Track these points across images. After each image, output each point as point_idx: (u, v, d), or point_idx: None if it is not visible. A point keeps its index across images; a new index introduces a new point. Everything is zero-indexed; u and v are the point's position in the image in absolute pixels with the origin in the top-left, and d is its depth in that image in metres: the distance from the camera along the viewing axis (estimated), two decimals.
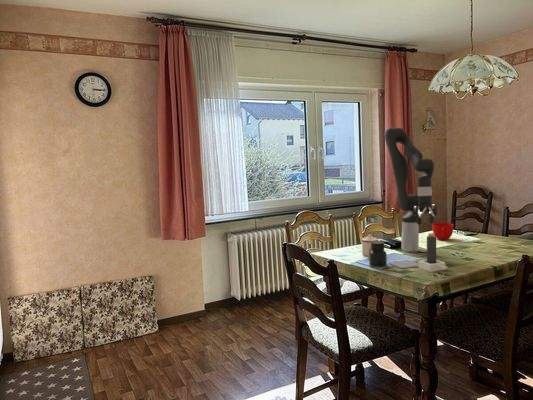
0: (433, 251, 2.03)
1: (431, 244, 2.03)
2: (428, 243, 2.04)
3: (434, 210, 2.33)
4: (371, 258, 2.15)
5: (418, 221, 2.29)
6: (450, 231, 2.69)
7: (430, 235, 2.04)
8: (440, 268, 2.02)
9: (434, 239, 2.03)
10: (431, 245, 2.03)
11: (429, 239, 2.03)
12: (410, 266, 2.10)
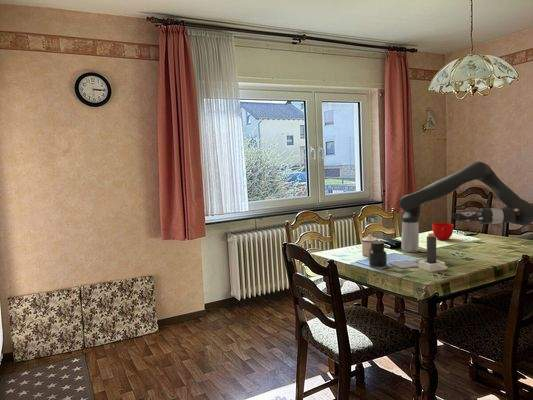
0: (433, 251, 2.03)
1: (431, 244, 2.03)
2: (428, 243, 2.04)
3: None
4: (371, 258, 2.15)
5: (462, 219, 1.97)
6: (450, 231, 2.69)
7: (430, 235, 2.04)
8: (440, 268, 2.02)
9: (434, 239, 2.03)
10: (431, 245, 2.03)
11: (429, 239, 2.03)
12: (410, 266, 2.10)
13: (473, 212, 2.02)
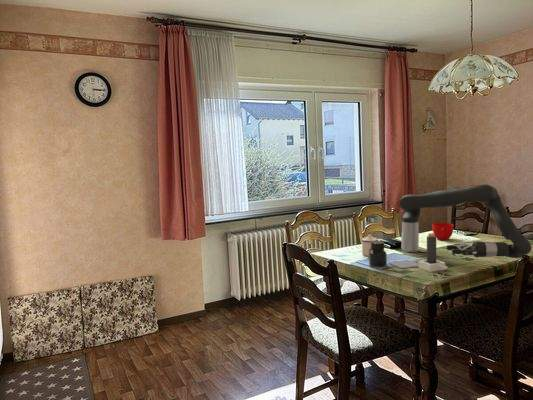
0: (433, 251, 2.03)
1: (431, 244, 2.03)
2: (428, 243, 2.04)
3: None
4: (371, 258, 2.15)
5: (456, 253, 1.99)
6: (450, 231, 2.69)
7: (430, 235, 2.04)
8: (440, 268, 2.02)
9: (434, 239, 2.03)
10: (431, 245, 2.03)
11: (429, 239, 2.03)
12: (410, 266, 2.10)
13: (467, 245, 2.04)
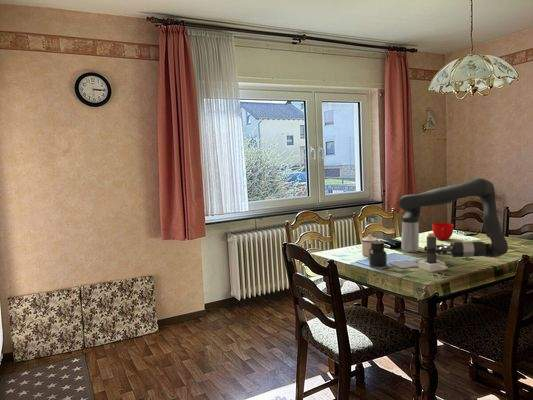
0: None
1: (431, 244, 2.03)
2: (428, 243, 2.04)
3: None
4: (371, 258, 2.15)
5: (431, 252, 2.02)
6: (450, 231, 2.69)
7: (430, 235, 2.04)
8: (440, 268, 2.02)
9: (434, 239, 2.03)
10: (431, 245, 2.03)
11: (429, 239, 2.03)
12: (410, 266, 2.10)
13: (446, 245, 2.05)
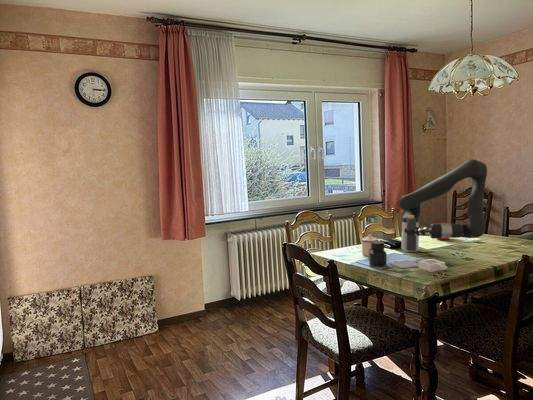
0: None
1: (411, 226, 2.09)
2: (408, 225, 2.10)
3: None
4: (371, 258, 2.15)
5: (410, 234, 2.08)
6: None
7: (410, 217, 2.10)
8: (440, 268, 2.02)
9: (414, 221, 2.09)
10: (411, 227, 2.09)
11: (409, 221, 2.09)
12: (410, 266, 2.10)
13: (425, 227, 2.11)
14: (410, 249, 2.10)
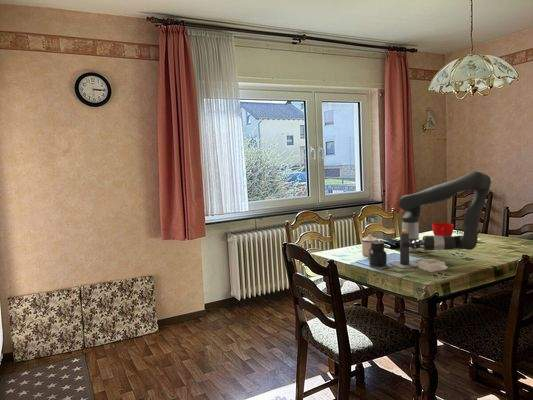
0: (406, 247, 2.12)
1: (404, 241, 2.12)
2: (401, 239, 2.13)
3: None
4: (371, 258, 2.15)
5: (405, 246, 2.10)
6: (450, 231, 2.69)
7: (403, 232, 2.13)
8: (440, 268, 2.02)
9: (407, 235, 2.12)
10: (404, 241, 2.12)
11: (402, 235, 2.13)
12: (410, 266, 2.10)
13: (417, 239, 2.14)
14: (403, 263, 2.14)
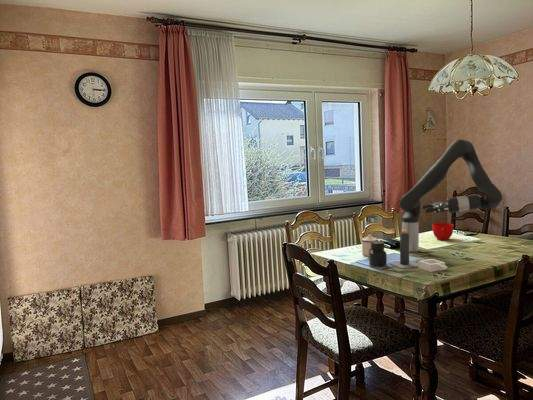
0: (406, 246, 2.12)
1: (404, 241, 2.12)
2: (401, 239, 2.13)
3: None
4: (371, 258, 2.15)
5: (429, 211, 2.07)
6: (450, 231, 2.69)
7: (403, 231, 2.13)
8: (440, 268, 2.02)
9: (407, 235, 2.12)
10: (404, 241, 2.12)
11: (402, 235, 2.13)
12: (410, 266, 2.10)
13: (441, 202, 2.11)
14: (403, 263, 2.14)
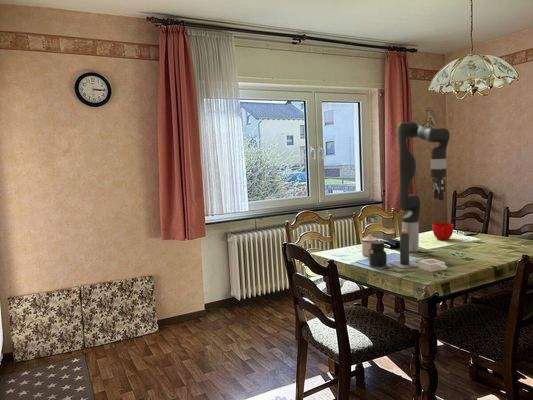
0: (406, 247, 2.12)
1: (404, 241, 2.12)
2: (401, 239, 2.13)
3: None
4: (371, 258, 2.15)
5: (442, 196, 2.08)
6: (450, 231, 2.69)
7: (403, 232, 2.13)
8: (440, 268, 2.02)
9: (407, 235, 2.12)
10: (404, 241, 2.12)
11: (402, 235, 2.12)
12: (410, 266, 2.10)
13: (434, 182, 2.14)
14: (403, 263, 2.14)
